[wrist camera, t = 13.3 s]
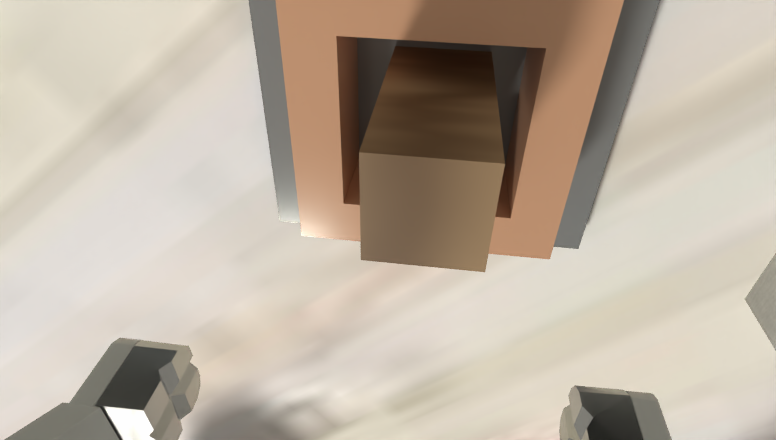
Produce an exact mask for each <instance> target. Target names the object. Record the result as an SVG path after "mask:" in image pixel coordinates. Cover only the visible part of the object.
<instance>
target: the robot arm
mask: <svg viewBox="0 0 776 440" xmlns="http://www.w3.org/2000/svg"><path fill="white" fill-rule="evenodd" d="M192 356H193V355H192V352H191V350H190V348H189V346H185V345H177V344H169V343H160V342H152V341H144V340H137V339H127V338H119V339H117V340H116V341H114V342H113V343H112V344H111V345H110V346H109V348H108V349H107V351H106V352H105V353H104V355H103V356H102V358H101V359H100V361H99V362H98V363H97V365H96V366H95V368H94V369H93V370H92V372H91V373H90V375H89V376H88V377H87V379H86V380H85V382H84V383H83V384H82V386H81V387H80V389H79V390H78V392H77V393H76V394H75V396H74V397H73V399H72V400H71V401H70V403H61V404H60V405H58V406H57V407H55V408H53V409H52V410H50V411H49V412H47V413H46V414H44V415H42V416H41V417H39V418H38V419H36V420H35V421H33V422H31V423H30V424H28V425H27V426H25V427H24V428H22V429H20V430H19V431H17V432H16V433H14V434H13V435H11V436H9V437H8V438H6V439H5V440H178V439H179V436H180V434H181V432H182V430H183V429H182V425H181V420H180V419H182V418H183V417H184V416H186V415H187V414H188V413H190V412H191V411H192V409H193V407H194V405H195V403H196V401H197V398H198V394H199V389H200V374H199V371H198V368H196V367H195V366H194V365H193V364H191V363H190V360H191V358H192ZM569 401H570V405H569V406H567V407H565V408H564V409H563V412H562V415H561V419H560V430H559V433H560V440H672V439H671V436H670V433H669V431H668V428H667V425H666V422H665V419H664V416H663V414H662V411H661V408H660V405H659V402H658V399H657V398H656V397H655V396H654V395H653V394H651V393H643V392H631V391H624V390H619V389H608V388H596V387H585V386H574V387H572V388H571V391H570V393H569Z"/></svg>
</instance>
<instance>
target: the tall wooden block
mask: <svg viewBox="0 0 776 440" xmlns="http://www.w3.org/2000/svg"><path fill="white" fill-rule="evenodd" d="M504 167H505V159H504V151H503V142H502V134H501V125H500V117H499V109H498V100H497V92H496V83H495V75H494V66H493V58H492V52H487V51H470V50H453V49H437V48H420V47H403V46H395V48H394V51H393V54H392V57H391V60H390V63H389V66H388V69H387V72H386V75H385V78H384V80H383V83H382V86H381V89H380V92H379V95H378V98H377V101H376V104H375V107H374V110H373V113H372V116H371V118H370V121H369V124H368V127H367V130H366V133H365V136H364V139H363V142H362V145H361V148H360V151H359V182H360V236H361V260H367V261H377V262H387V263H397V264H408V265H418V266H428V267H438V268H449V269H459V270H469V271H479V272H485V269H486V264H487V258H488V253H489V247H490V242H491V237H492V231H493V226H494V221H495V215H496V210H497V204H498V199H499V194H500V188H501V183H502V177H503V172H504Z"/></svg>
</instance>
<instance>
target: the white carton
mask: <svg viewBox="0 0 776 440" xmlns="http://www.w3.org/2000/svg"><path fill="white" fill-rule="evenodd" d="M745 300H746V302H747V304H748V305H749V307H750V309H751V310H752V312H753V314H754V315H755V317H756V319H757V320H758V322H759V324H760V325H761V327H762V329H763V330H764V332H765V334H766V335H767V337H768V339H769V340H770V342H771V343H772V345H773V347H774V348H775V350H776V254H775V255H774V257H773V258H772V260H771V261H770V263H769V264H768V266H767V267H766V268H765V270H764V271H763V273H762V274H761V276H760V277H759V279H758V280H757V282H756V283H755V285H754V286H753V288H752V289H751V291H750V292H749V294H748V295H747V297H746V298H745Z"/></svg>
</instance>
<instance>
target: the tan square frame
mask: <svg viewBox="0 0 776 440" xmlns="http://www.w3.org/2000/svg"><path fill="white" fill-rule="evenodd" d="M659 1H660V0H249V6H250V13H251V21H252V28H253V35H254V42H255V49H256V56H257V63H258V70H259V77H260V84H261V91H262V98H263V105H264V113H265V120H266V127H267V134H268V141H269V148H270V155H271V162H272V169H273V176H274V183H275V190H276V197H277V205H278V212H279V219H280V221H282V222H292V223H300V226H301V235H302V236H309V237H319V238H330V239H340V240H351V241H361V236H360V182H359V151H360V148H361V145H362V142H363V139H364V136H365V133H366V130H367V127H368V124H369V121H370V118H371V116H372V113H373V110H374V107H375V104H376V101H377V98H378V95H379V92H380V89H381V86H382V83H383V80H384V78H385V75H386V72H387V69H388V66H389V63H390V60H391V57H392V54H393V51H394V48H395V46H403V47H420V48H437V49H453V50H470V51H487V52H492V58H493V66H494V75H495V83H496V92H497V100H498V109H499V117H500V125H501V134H502V142H503V151H504V159H505V167H504V172H503V177H502V183H501V188H500V194H499V199H498V204H497V210H496V215H495V221H494V226H493V231H492V237H491V242H490V247H489V253H488V254H499V255H509V256H520V257H531V258H541V259H550V257H551V253H552V250H553V247H563V248H574V249H578V248H579V245H580V242H581V239H582V236H583V233H584V230H585V227H586V224H587V221H588V218H589V215H590V212H591V209H592V206H593V202H594V199H595V196H596V193H597V190H598V187H599V184H600V181H601V178H602V175H603V172H604V169H605V166H606V163H607V160H608V157H609V154H610V151H611V148H612V144H613V141H614V138H615V135H616V132H617V129H618V126H619V123H620V120H621V117H622V114H623V111H624V108H625V105H626V102H627V99H628V96H629V93H630V90H631V86H632V83H633V80H634V77H635V74H636V71H637V68H638V65H639V62H640V59H641V56H642V53H643V50H644V47H645V44H646V41H647V38H648V35H649V32H650V28H651V25H652V22H653V19H654V16H655V13H656V10H657V7H658V4H659Z"/></svg>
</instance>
